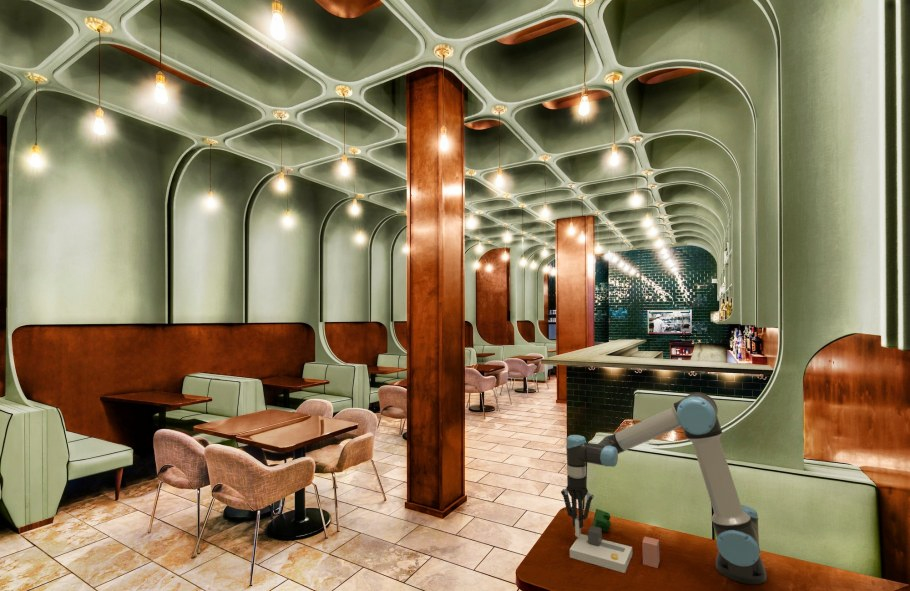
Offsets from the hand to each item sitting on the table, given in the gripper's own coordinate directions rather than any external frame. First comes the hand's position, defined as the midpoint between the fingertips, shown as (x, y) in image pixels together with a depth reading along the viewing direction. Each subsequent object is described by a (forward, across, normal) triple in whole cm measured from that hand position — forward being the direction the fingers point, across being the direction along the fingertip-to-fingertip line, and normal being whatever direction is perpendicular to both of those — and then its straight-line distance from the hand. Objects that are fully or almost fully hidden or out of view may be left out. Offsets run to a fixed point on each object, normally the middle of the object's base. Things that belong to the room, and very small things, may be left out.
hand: (578, 535), depth 177 cm
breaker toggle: (+1, -7, 0) cm, 7 cm away
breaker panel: (+4, -10, +3) cm, 11 cm away
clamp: (+5, -4, -20) cm, 21 cm away
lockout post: (+4, -27, -2) cm, 27 cm away
